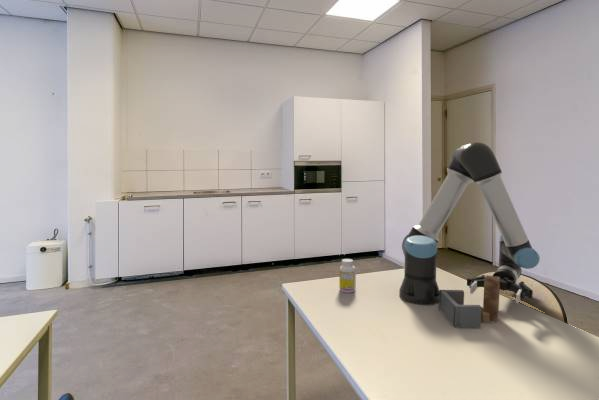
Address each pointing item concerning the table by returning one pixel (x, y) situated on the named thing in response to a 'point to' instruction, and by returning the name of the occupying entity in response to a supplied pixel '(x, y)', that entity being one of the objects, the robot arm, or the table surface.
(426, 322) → the table surface
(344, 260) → the supplement bottle
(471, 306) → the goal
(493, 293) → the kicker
